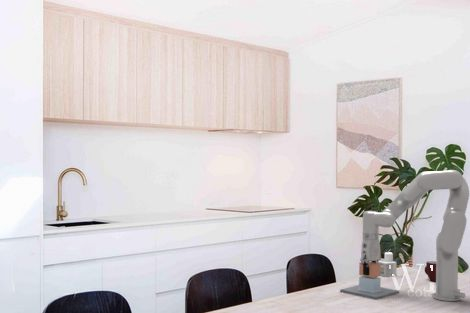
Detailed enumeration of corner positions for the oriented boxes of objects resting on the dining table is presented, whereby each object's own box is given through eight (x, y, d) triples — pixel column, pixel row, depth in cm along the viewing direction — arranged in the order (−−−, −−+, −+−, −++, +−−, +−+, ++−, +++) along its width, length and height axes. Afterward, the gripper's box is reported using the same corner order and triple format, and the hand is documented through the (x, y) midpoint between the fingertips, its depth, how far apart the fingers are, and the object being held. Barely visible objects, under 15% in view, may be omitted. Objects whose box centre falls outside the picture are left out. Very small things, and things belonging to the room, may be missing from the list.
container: (376, 274, 329) (376, 251, 329) (387, 273, 333) (387, 250, 333) (385, 277, 322) (385, 253, 322) (396, 276, 326) (397, 252, 326)
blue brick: (380, 290, 283) (380, 277, 283) (373, 292, 279) (373, 279, 279) (366, 287, 289) (366, 275, 289) (359, 289, 285) (359, 276, 285)
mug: (419, 279, 316) (419, 261, 316) (428, 278, 321) (429, 259, 321) (435, 283, 308) (435, 264, 308) (445, 281, 312) (445, 263, 312)
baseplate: (399, 293, 284) (399, 290, 284) (376, 299, 270) (376, 296, 270) (363, 286, 298) (363, 283, 298) (340, 292, 284) (340, 289, 284)
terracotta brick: (380, 276, 283) (380, 263, 283) (373, 277, 279) (373, 265, 279) (366, 273, 289) (366, 261, 289) (359, 275, 285) (359, 262, 285)
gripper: (367, 239, 275) (366, 277, 275) (387, 236, 287) (386, 273, 287) (353, 237, 281) (353, 275, 281) (373, 234, 293) (373, 270, 293)
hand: (370, 273), depth 284 cm, fingers closed on terracotta brick, 5 cm apart
